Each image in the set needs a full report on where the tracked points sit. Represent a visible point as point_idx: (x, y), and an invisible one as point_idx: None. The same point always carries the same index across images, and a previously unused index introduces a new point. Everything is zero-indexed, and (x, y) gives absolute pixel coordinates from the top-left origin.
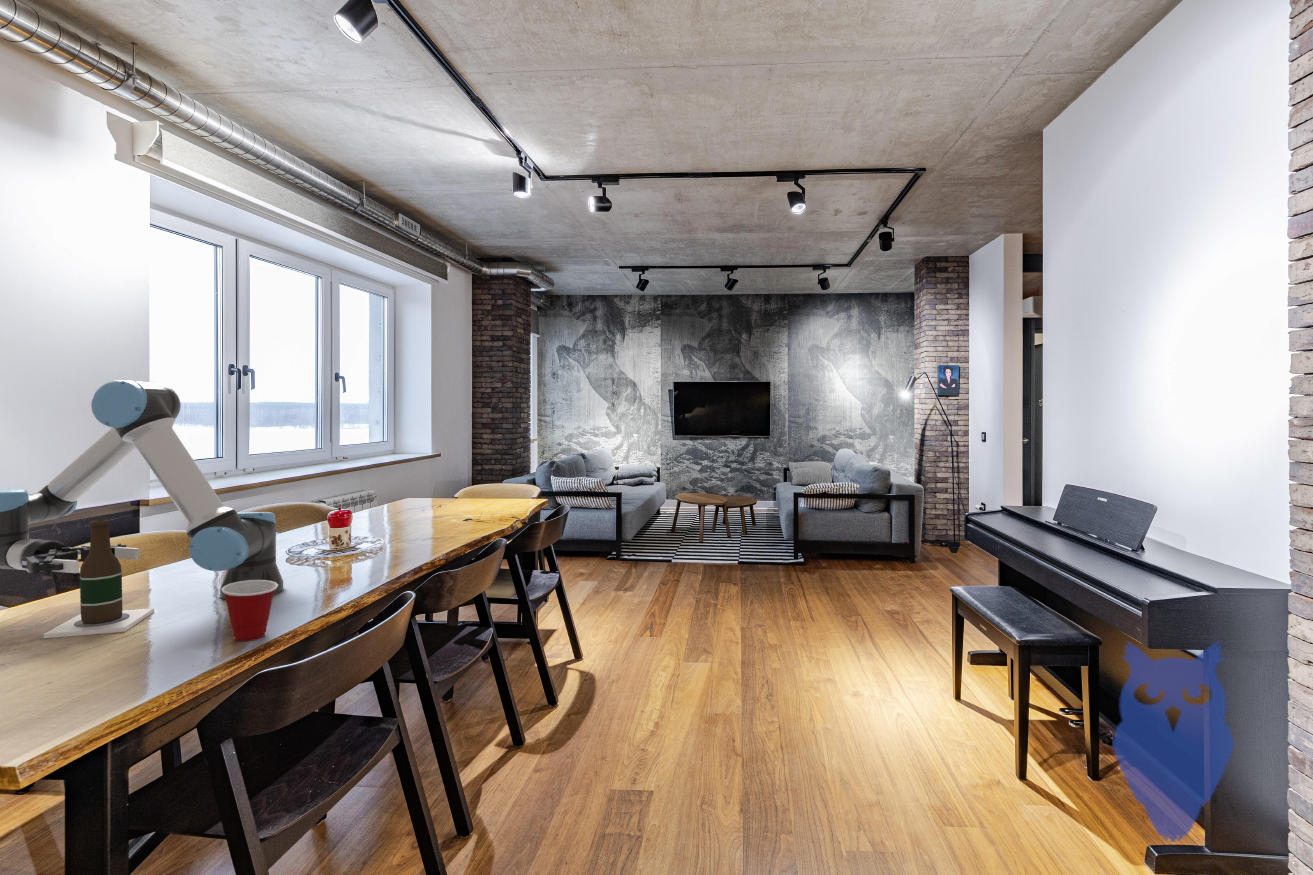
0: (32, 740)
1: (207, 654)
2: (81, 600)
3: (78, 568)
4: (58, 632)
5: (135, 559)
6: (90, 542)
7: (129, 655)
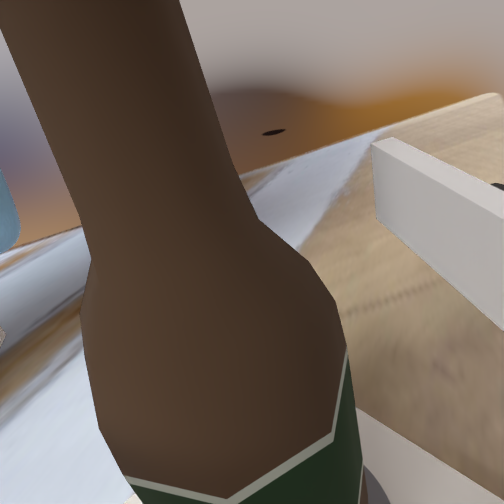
0: (487, 106)
1: (272, 185)
2: (358, 469)
3: (376, 193)
4: (472, 487)
5: (3, 339)
6: (188, 126)
7: (347, 225)
